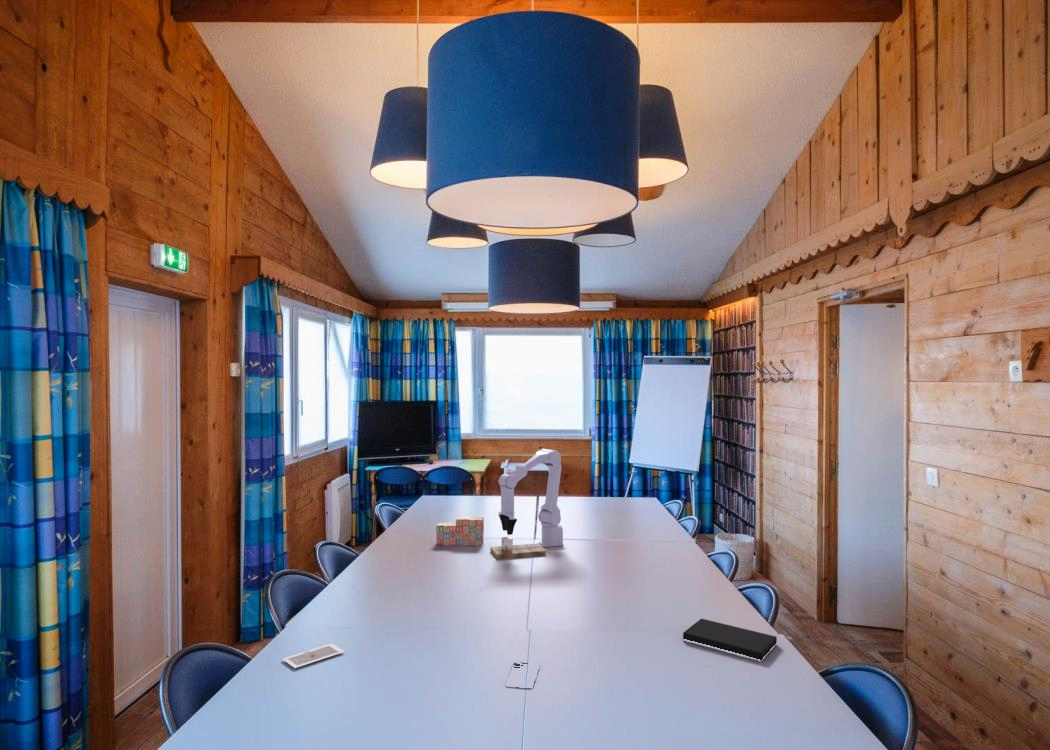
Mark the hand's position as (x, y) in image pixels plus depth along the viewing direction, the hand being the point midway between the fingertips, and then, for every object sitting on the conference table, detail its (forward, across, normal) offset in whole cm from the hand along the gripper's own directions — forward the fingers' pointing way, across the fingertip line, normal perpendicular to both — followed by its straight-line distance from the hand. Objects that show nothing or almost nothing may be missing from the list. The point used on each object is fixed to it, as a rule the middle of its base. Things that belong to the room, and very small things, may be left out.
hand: (507, 532), depth 289 cm
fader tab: (+7, +1, -1) cm, 7 cm away
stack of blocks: (+10, -22, -17) cm, 29 cm away
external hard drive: (+10, +110, +38) cm, 117 cm away
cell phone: (+10, +112, -26) cm, 115 cm away
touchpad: (+10, +85, -80) cm, 117 cm away
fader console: (+9, +1, +4) cm, 10 cm away
